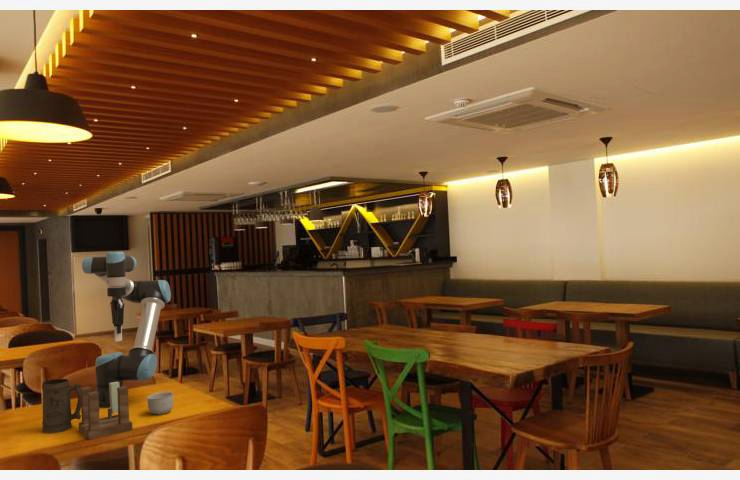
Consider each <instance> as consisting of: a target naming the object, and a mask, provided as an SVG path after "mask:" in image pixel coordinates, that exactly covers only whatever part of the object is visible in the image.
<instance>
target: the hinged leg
mask: <svg viewBox="0 0 740 480" xmlns="http://www.w3.org/2000/svg"><path fill="white" fill-rule="evenodd" d="M118 387H120V386H119V382H112V383H109V392H110V407H109V409H111V410H112V414H116V413H117V414H118V395H117V388H118Z"/></svg>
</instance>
